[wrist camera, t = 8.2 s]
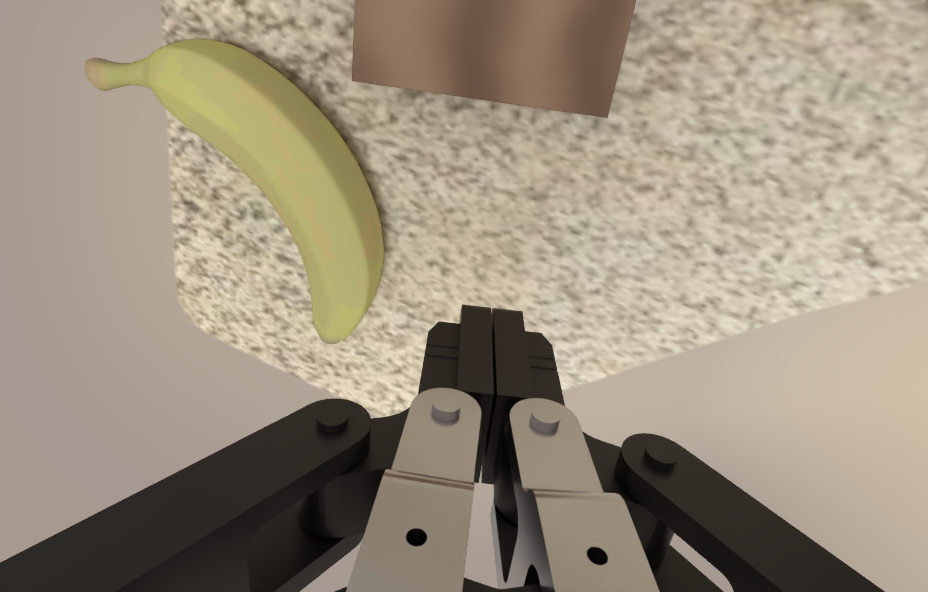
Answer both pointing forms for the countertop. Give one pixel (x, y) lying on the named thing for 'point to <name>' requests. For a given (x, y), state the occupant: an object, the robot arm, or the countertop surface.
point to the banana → (275, 162)
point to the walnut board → (496, 49)
